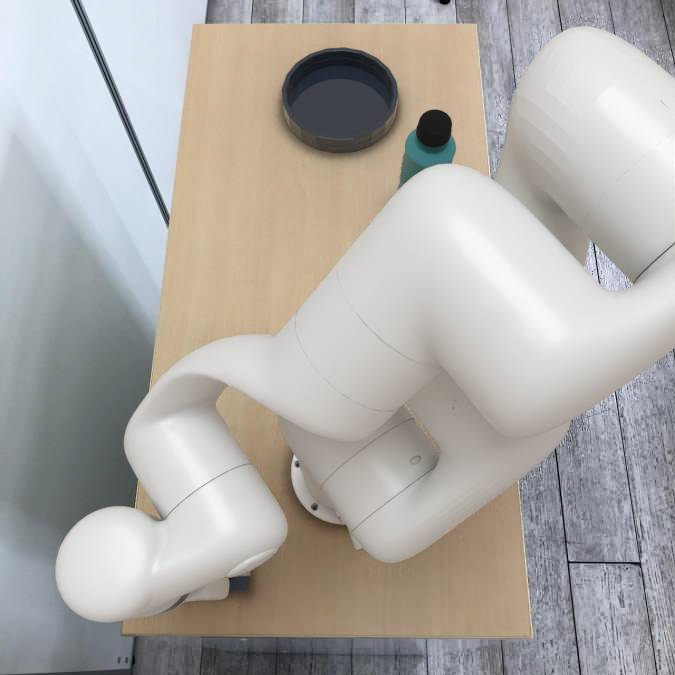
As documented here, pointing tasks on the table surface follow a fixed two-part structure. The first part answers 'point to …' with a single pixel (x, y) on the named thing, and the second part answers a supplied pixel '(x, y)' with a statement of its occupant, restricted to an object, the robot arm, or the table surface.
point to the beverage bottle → (428, 144)
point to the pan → (339, 99)
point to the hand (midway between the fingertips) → (195, 571)
